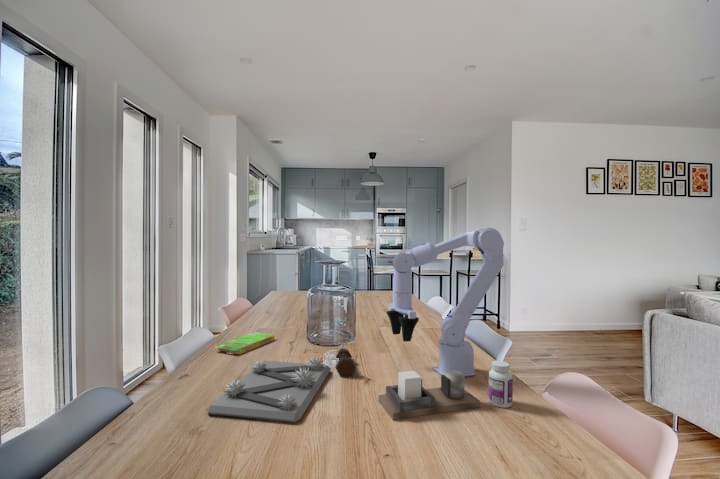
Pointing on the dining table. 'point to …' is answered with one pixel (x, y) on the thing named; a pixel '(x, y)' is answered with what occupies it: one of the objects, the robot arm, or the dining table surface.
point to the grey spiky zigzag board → (272, 391)
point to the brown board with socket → (430, 399)
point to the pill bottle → (500, 385)
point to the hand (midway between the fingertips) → (401, 337)
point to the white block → (409, 385)
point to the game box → (245, 343)
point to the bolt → (345, 363)
